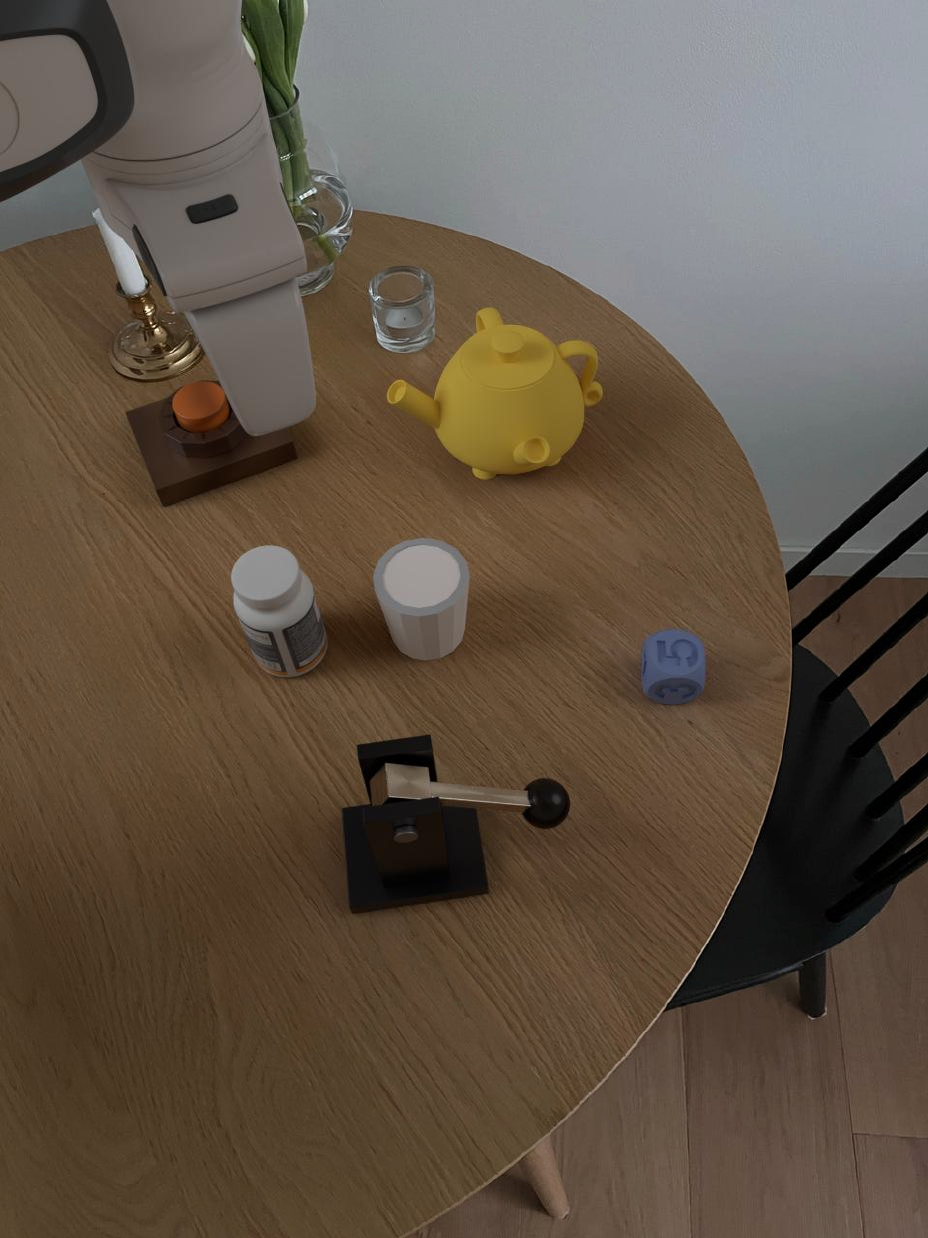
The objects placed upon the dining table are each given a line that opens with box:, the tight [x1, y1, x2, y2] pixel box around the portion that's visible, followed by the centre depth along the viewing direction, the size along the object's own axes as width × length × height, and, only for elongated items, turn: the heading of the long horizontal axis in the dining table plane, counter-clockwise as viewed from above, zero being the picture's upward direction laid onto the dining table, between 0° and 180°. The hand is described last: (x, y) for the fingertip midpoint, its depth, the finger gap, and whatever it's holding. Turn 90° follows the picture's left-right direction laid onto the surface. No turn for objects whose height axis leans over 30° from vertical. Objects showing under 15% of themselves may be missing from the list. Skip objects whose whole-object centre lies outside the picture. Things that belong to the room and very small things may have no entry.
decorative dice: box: [641, 628, 707, 705], centre depth 76 cm, size 4×4×4 cm
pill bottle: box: [230, 544, 329, 678], centre depth 76 cm, size 6×6×10 cm
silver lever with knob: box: [370, 763, 571, 830], centre depth 65 cm, size 13×3×3 cm, turn 98°
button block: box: [125, 379, 298, 508], centre depth 91 cm, size 12×10×4 cm
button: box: [172, 380, 229, 433], centre depth 89 cm, size 4×4×2 cm
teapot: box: [386, 306, 604, 481], centre depth 86 cm, size 14×14×11 cm
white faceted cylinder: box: [372, 537, 471, 662], centre depth 78 cm, size 7×7×7 cm
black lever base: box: [341, 733, 490, 915], centre depth 66 cm, size 9×7×12 cm
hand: (246, 379), depth 62 cm, fingers closed
